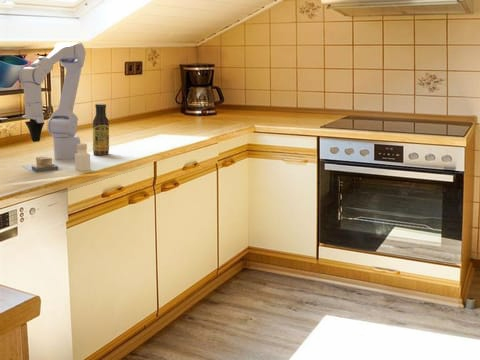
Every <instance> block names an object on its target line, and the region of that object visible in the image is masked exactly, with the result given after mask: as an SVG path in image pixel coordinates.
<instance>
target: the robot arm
mask: <svg viewBox="0 0 480 360" xmlns="http://www.w3.org/2000/svg"><path fill="white" fill-rule="evenodd" d="M53 47H54V48H53V50H52V51H51V52H49V53H48V55H46V56H38V57H37V59H36V60H35V61H34V62H31V63H30V65H29V66H26V67H23V68H21V69H20V71H19V75H18V78H19V81H20V83H21V88H22V90H23V96H24V97H23V98H24V111H25V112H24V113H25V114H24V115H22V116H21V118H22V119H26V120H29V121H25V122H24V123H25V125H26V127H27V129H28V132H29V134H30V138H31V141H32V142H33V143H38V142H40V141H41V135H42V130H43V127H44V126H45V121H44V120H45V119H44V116H45V115H44V112H43V111H44V110H43V98H42V97H43V94H42V84H43V83H44V81H45V77H46V76H47V75H48V74H49V73H51V71H53V69H54V65H56V63H58V62H59V63H60V64H61V65H60V66H62V67H63V68H65V70H66V72H65V74H64V76H65V77H64V81H63V84H62V85H63V86H62V90H61V94H60V99H59V103H58V108H57V109H56V110H55V111H54V112H52V113H51V115H50V118H49V120H48V121H47V124H46V125H47V131H48V133H49V134H50V136H51V137H52V139H53V141H52V142H53V155H54V159H55V160H71V159H72V160H73V159H75V154H77V153H78V150H77V144H81V140H80V139H81V138H80V137H79V135H76V134H77V132H78V128H79V127H78V125H79V124H78V120H79V118H78V116H77V115H76V114H75V113H74V107H75V102H76V98H77V93H78V87H79V83H80V77H81V75H82V74H81V73H82V68H83V67H84V64H85V60H86V56H87V51H86V48H85V46H84V44H83V43H82V42H60V41H59V42H57V43H56V44H54V46H53Z"/></svg>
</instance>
